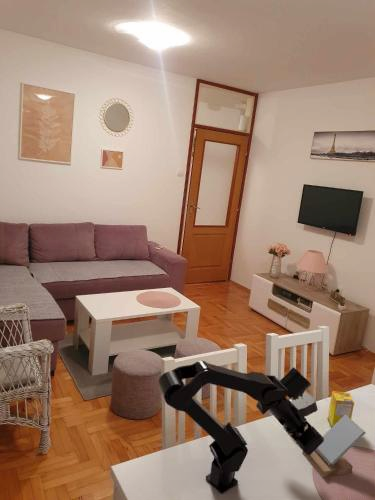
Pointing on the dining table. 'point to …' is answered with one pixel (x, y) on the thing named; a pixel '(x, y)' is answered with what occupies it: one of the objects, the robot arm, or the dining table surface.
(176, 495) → the dining table surface
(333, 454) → the grey rectangular panel
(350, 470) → the ticket block
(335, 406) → the supplement box
